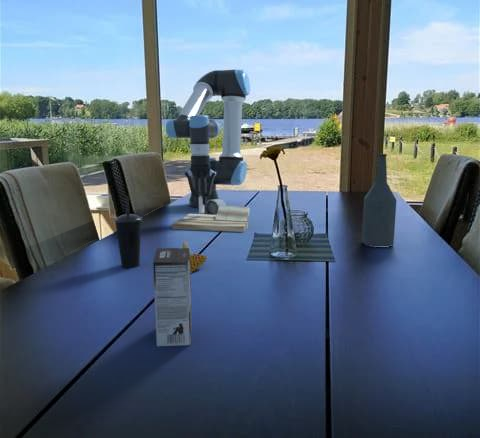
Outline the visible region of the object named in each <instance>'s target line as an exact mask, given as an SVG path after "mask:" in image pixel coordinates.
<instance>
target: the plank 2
mask: <svg viewBox="0 0 480 438" xmlns="http://www.w3.org/2000/svg"><path fill="white" fill-rule="evenodd" d="M250 211H251V208H250V206H241V205H240V206H239V205H238V206H237V205H236V206H235V205H226V206H219V209H218V212H217V215H216V218H215V220H223V221H248V220H249V215H250Z"/></svg>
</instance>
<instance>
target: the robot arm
mask: <svg viewBox="0 0 480 438" xmlns="http://www.w3.org/2000/svg"><path fill="white" fill-rule="evenodd" d="M250 93H251V83H250V78H249V75H248V73H247V71H246V70H245V69H237V68H235V69H224V70H223V69H222V70H220V69H219V70H217V69H215V70H212V71H209V72H207V73H205V74H204V75H202V76H201V77H200V78H199V79H198V80H197V81H196V83H195V84H194V85H193V92H191V95H190V96H189V97H188V100H187V101H186V103H185V104H184V106H183V107H182V109H181V110H180V112H179V114H178V115H177V117H176V119H169V120H168V121H167V122H166V124H165V133H166V135H167V137H169V138H172V139H190V140H189V141H190V142H189V143H190V147H189V148H190V149H189V150H190V154H191V155H190V167H189V170H188V171H185V172H184V175H185V177H186V178H187V181H188V186H189V190H190V196H189V199H188V200H189V201H188V205H189V207H192V208H198V214H202V213H204V205H206V202H207V201H208V200H214V199H220V197H219V195H218V192H217V186H218V185H219V186H240V185H243V183H244V182H245V180H246V177H247V171H248V165H247V162H246V161H245V160H244V156H243V155H242V154H241V147H242V145H241V143H242V142H241V141H242V122H243V121H242V118H243V117H242V115H243V103H244V102H245V101H246V100H247V99H246V97H247V96H248V95H250ZM216 96H217V97H219V96H220V98H221V101H222V102H223V124H222V125H223V126H222V150H221V151H222V152H221V154H220V155H219V156H218V160H217V159H216V157H210V153H211V152H210V139H213V138H214V139H215V138H216V137H218V136H219V134H220V132H221V126H220V124H219V122H218V121H216V120H214V119H209V116H208V115H207V114H201V112H202V111H203V109H204V107H205V105H206V104H207V102H208V101H210V100H211V99H212V98H213V97H216Z"/></svg>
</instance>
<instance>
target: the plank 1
mask: <svg viewBox="0 0 480 438" xmlns="http://www.w3.org/2000/svg"><path fill="white" fill-rule="evenodd" d="M215 218H216V215H210V214H202V213H188V214H186V216H184V217H183V218H182V219H198V220H215Z"/></svg>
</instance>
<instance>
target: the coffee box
mask: <svg viewBox="0 0 480 438" xmlns="http://www.w3.org/2000/svg"><path fill="white" fill-rule="evenodd" d="M189 248H190V247H189ZM189 248H183V247H182V248H178V247H160V248H156V251H155V254H154V258H153V262H152V265H153V266H152V267H153V268H152V269H153V270H152V271H153V283H154V284H153V288H154V289H153V291H154V309H155V310H154V312H155V313H154V314H155V316H154V317H155V334H156V335H155V338H156V339H155V340H156V347H173V346H174V347H175V346H176V347H178V346H191V345H192V343H191V342H192V298H191V296H192V293H191V292H192V291H191V290H192V289H191V273H190V255H189Z"/></svg>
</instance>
